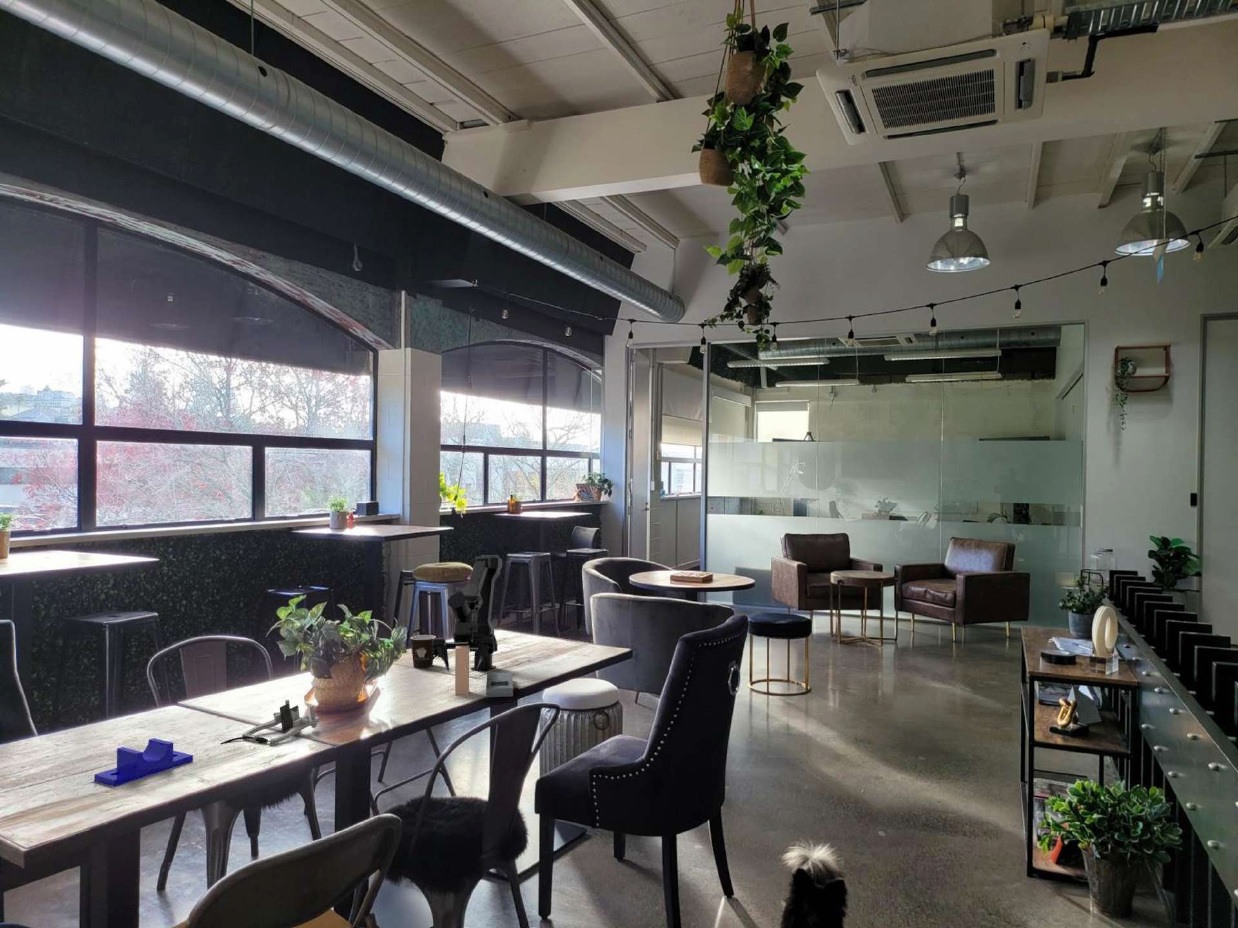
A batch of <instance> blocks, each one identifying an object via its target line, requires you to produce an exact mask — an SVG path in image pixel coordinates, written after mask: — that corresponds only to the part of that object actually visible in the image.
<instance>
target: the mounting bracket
mask: <svg viewBox="0 0 1238 928" xmlns="http://www.w3.org/2000/svg"><path fill="white" fill-rule="evenodd" d="M192 762H193V763H194V755H193V754H190V753H185V752H181V751H177V750H174V742H172V741H167V740H163V739H159V738H155V737H152V738H149V739H148V743H147V745H146V748H145V749H144V750H143V751H140V750H136V749H132V748H128V747H124V746H121V747H117V748H116V767H115V768H112V769H108V770H104V771H102V772H98V773H95V774H94V776H93V777H94V780H93V781H94V782H97V783H100V784H104V785H107V786H110V787H112V788H114V787H117V786H121V785H125V784H127V783H130V782H133V781H136V780H139V779H143V778H145V777H149V776H151V775H156V774H157V773H161V772H165V771H168V770H171V769H173V768H176V767H181V766H182V765H185V764H190V763H192Z"/></svg>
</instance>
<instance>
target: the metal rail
mask: <svg viewBox="0 0 1238 928" xmlns="http://www.w3.org/2000/svg"><path fill="white" fill-rule="evenodd" d="M502 697H503V698H505V697H506V698H507V697H508V698H509V697H514V682H513V672H493V673H492V672H491V673H490V672H489V673H486V685H485V698H502Z"/></svg>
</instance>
